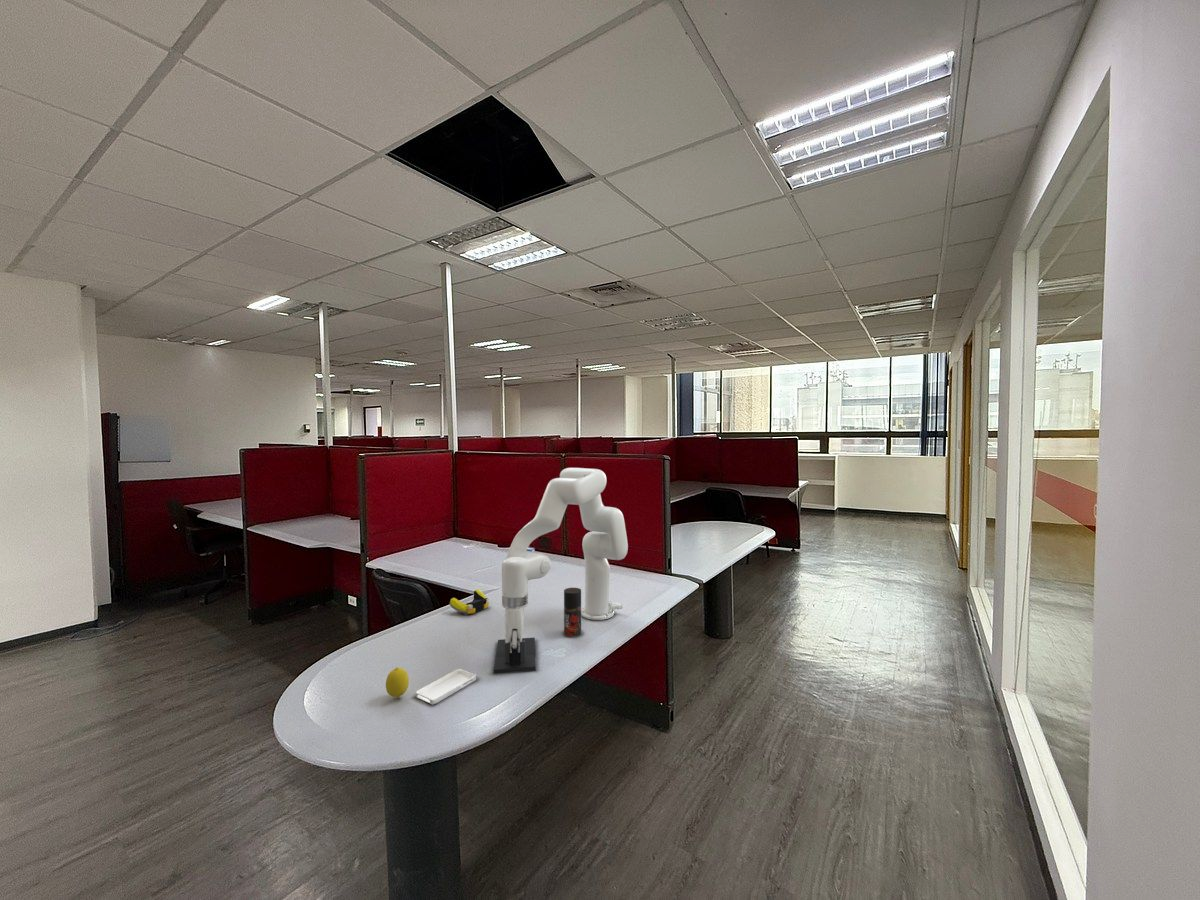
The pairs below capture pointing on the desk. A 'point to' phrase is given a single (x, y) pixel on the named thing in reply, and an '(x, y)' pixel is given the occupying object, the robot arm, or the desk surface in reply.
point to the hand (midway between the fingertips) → (515, 659)
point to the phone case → (445, 686)
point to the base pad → (528, 646)
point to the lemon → (397, 682)
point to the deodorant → (572, 612)
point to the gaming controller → (471, 604)
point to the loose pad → (504, 667)
